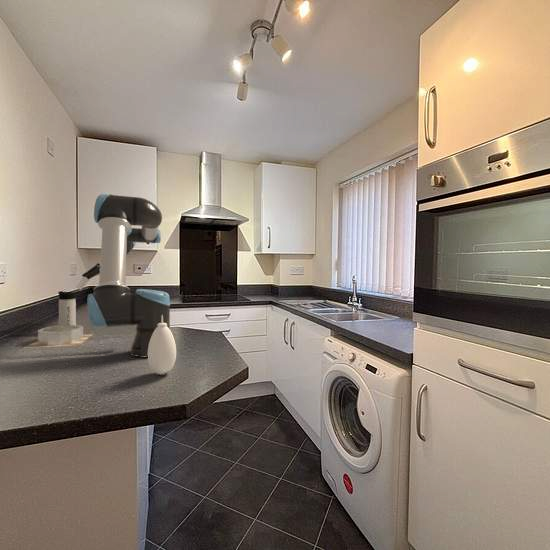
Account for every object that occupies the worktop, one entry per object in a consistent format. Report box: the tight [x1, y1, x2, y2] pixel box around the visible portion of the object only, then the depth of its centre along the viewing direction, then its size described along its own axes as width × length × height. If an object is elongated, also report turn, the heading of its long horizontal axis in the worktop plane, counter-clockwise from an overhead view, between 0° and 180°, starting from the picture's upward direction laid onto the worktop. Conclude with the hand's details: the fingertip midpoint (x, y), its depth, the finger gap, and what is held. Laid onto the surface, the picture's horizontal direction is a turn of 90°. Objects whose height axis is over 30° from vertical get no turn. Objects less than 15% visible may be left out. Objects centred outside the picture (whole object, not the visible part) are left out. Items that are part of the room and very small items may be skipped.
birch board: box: [23, 333, 94, 349], centre depth 120 cm, size 18×18×1 cm
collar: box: [37, 324, 84, 346], centre depth 120 cm, size 14×14×5 cm
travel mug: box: [57, 290, 77, 326], centre depth 133 cm, size 6×7×20 cm
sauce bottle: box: [147, 315, 177, 374], centre depth 88 cm, size 8×8×18 cm
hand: (88, 288), depth 143 cm, fingers open, 13 cm apart
